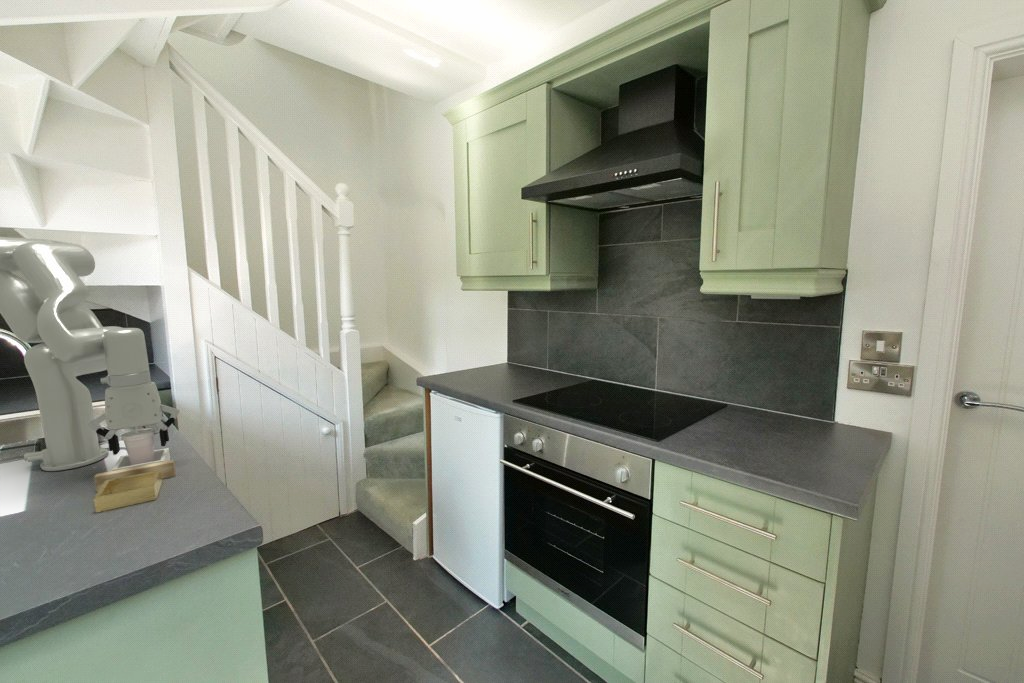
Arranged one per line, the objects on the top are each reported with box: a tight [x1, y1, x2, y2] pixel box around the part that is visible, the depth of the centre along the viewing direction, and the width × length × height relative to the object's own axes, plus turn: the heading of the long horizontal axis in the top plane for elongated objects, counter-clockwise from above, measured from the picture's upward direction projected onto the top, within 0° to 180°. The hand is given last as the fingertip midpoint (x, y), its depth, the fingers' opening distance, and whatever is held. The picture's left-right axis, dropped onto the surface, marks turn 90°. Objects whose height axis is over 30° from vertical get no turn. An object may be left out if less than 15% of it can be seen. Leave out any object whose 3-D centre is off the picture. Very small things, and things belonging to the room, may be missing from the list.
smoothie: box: [120, 427, 156, 465], centre depth 108 cm, size 6×6×14 cm
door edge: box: [93, 459, 177, 493], centre depth 103 cm, size 14×2×4 cm, turn 122°
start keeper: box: [111, 447, 171, 471], centre depth 109 cm, size 10×10×3 cm
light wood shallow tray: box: [93, 470, 163, 514], centre depth 96 cm, size 10×10×3 cm
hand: (140, 448), depth 109 cm, fingers open, 8 cm apart
